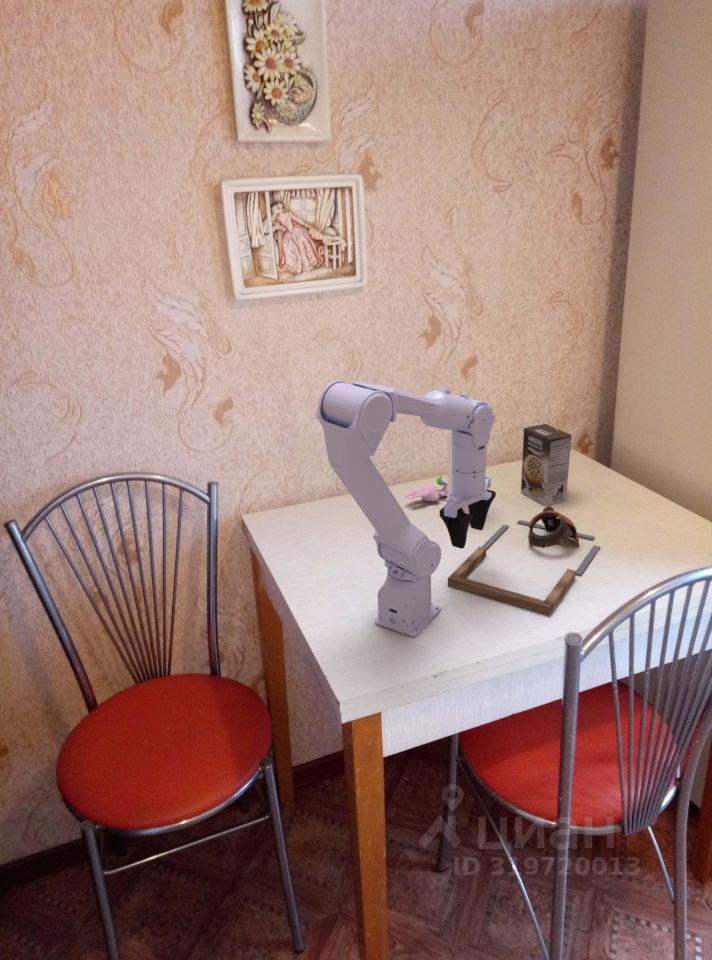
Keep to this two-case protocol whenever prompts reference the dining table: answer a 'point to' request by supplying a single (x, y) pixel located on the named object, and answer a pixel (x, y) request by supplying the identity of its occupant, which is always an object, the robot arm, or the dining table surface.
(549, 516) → the pottery mug
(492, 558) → the dining table surface
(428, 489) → the rabbit figure
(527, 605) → the walnut holder
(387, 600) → the robot arm
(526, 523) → the grey open frame
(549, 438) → the coffee box
